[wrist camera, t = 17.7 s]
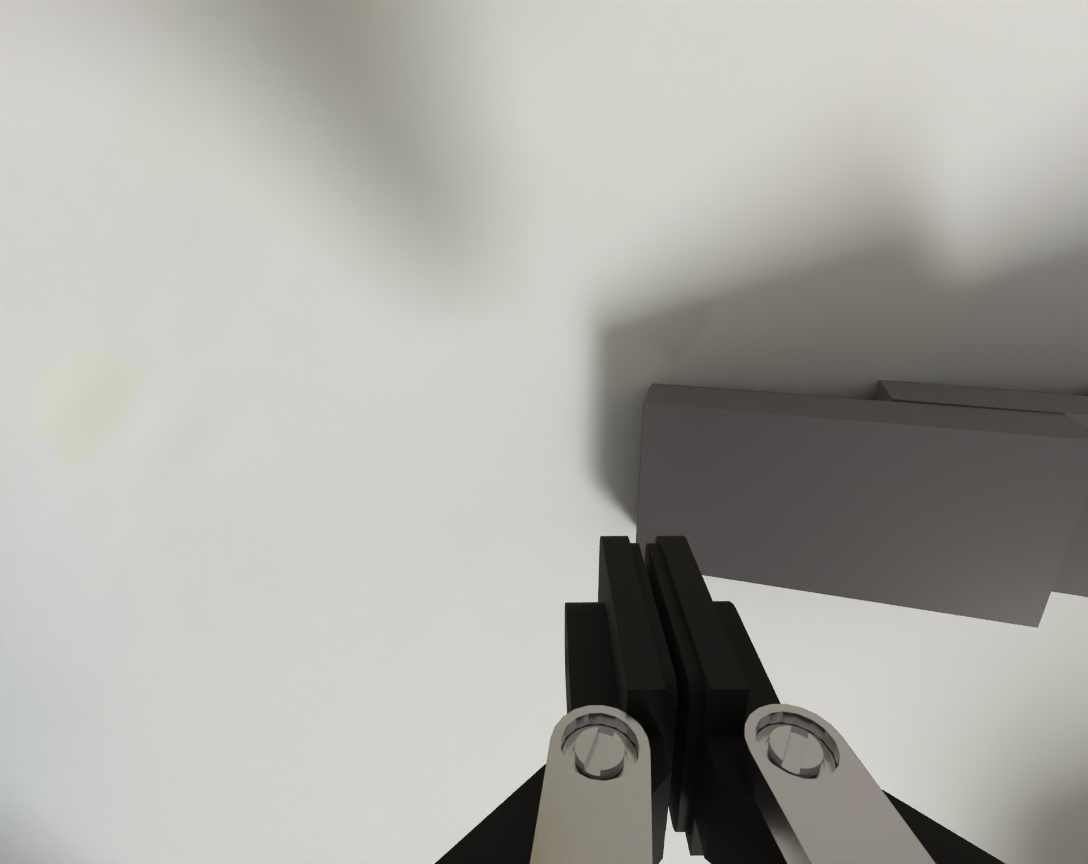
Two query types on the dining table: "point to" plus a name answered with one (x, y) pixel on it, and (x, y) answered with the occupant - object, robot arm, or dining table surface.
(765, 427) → the domino
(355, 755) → the dining table surface
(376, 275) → the dining table surface
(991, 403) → the domino
